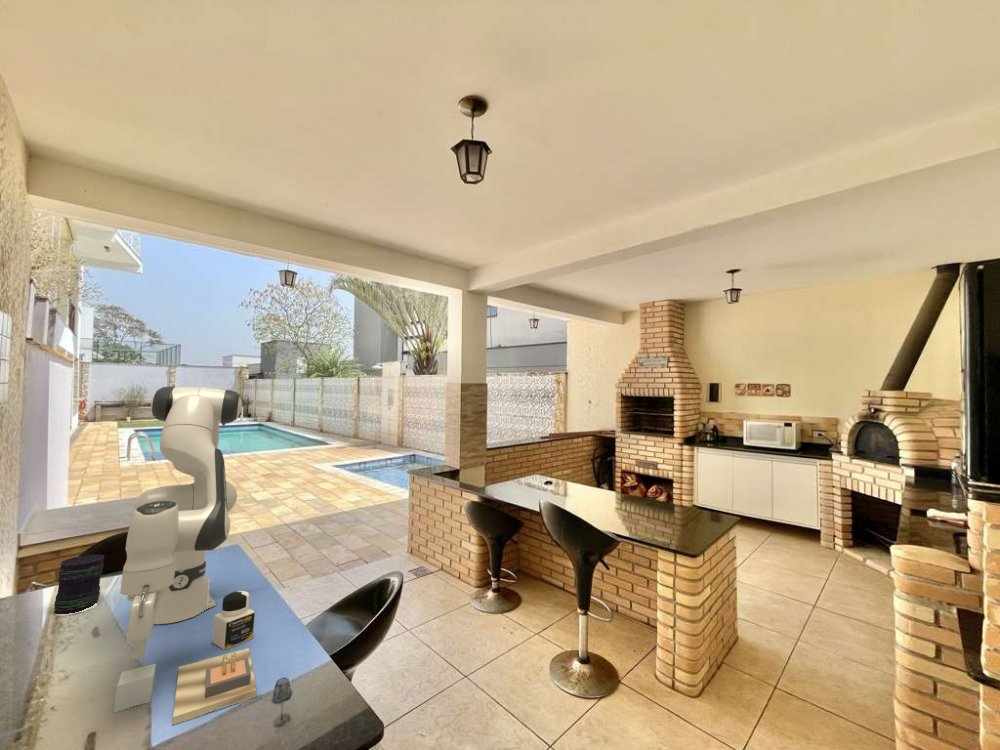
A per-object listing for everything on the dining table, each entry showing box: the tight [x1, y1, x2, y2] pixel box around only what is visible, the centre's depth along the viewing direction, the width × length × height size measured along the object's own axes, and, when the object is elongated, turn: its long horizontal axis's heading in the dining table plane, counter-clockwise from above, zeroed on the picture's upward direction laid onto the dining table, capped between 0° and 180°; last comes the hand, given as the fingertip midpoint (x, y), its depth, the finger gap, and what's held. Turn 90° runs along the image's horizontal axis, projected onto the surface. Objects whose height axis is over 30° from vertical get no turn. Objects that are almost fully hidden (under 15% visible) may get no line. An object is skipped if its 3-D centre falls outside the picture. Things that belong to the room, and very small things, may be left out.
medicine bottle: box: [211, 590, 256, 651], centre depth 109 cm, size 7×7×12 cm
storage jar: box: [53, 553, 105, 614], centre depth 126 cm, size 10×10×15 cm
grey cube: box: [113, 663, 157, 713], centre depth 85 cm, size 6×6×5 cm
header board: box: [171, 647, 258, 726], centre depth 90 cm, size 20×14×7 cm
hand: (141, 647), depth 86 cm, fingers open, 8 cm apart
